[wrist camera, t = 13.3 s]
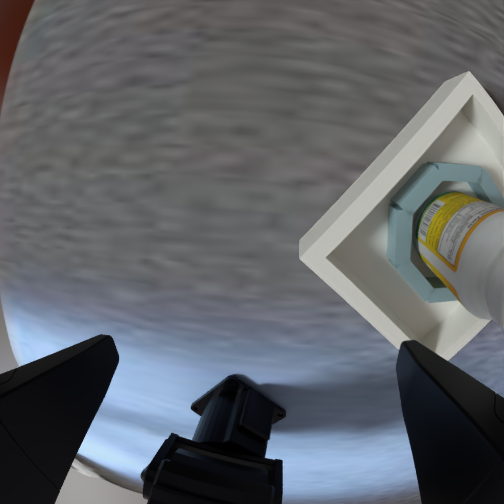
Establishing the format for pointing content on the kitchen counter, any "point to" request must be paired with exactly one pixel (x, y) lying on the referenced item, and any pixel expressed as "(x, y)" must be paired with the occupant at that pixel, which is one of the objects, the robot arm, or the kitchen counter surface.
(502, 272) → the supplement bottle
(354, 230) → the socket box
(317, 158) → the kitchen counter surface
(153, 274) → the kitchen counter surface
